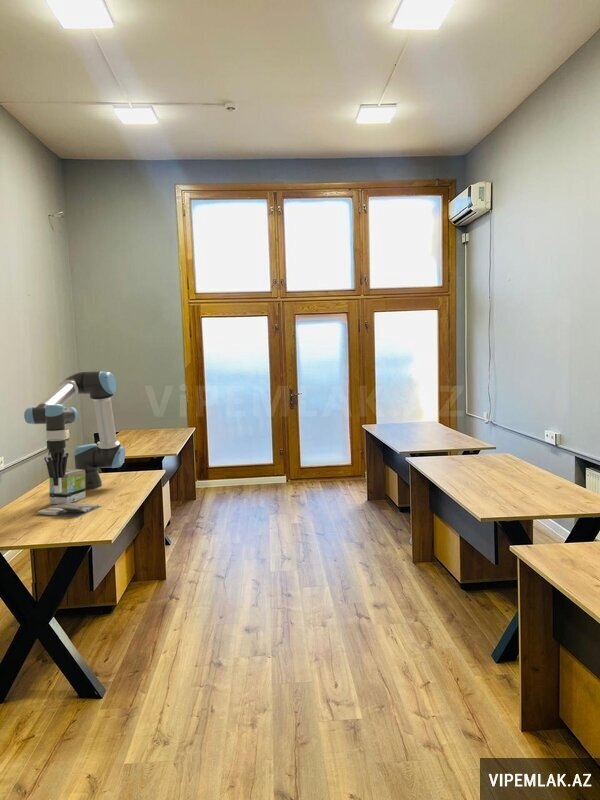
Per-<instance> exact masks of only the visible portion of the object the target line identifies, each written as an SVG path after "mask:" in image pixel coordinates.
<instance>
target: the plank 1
mask: <svg viewBox="0 0 600 800" xmlns="http://www.w3.org/2000/svg"><path fill="white" fill-rule="evenodd" d="M63 512H66V510H64V509H61V508H51V506H49V507H47V508H43V509H40V510H37V513H36V514H48V515H57V514H60V513H63Z"/></svg>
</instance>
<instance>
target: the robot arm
mask: <svg viewBox="0 0 600 800" xmlns="http://www.w3.org/2000/svg"><path fill="white" fill-rule="evenodd" d="M116 391H117V380H116V378H115V376H114V374H113V373H112V372H110V371H102V370H100V371H97V370H96V371H80V372H76V373H74V374H72V375H70V376H68V377H66V378H65V379H64V380H63V381H62V382H60V384H59V387H57V388H56V389H55V390H54V391H53V392H52V393H50V394H49V395H48V396H47V397H45V399H43V401H42V402H41V403H39V404H38V405H37V406H36V407H34V406H33V407H28V408H26V409H25V411H24V414H23V418H24V421H25V422H26V423H27V424H28V425H29V424H30V425H31V424H32V425H45V431H46V432H45V433H46V449H47V450H48V455H47V456H45V457H44V459H43V460H44V461H45V463H46V467H47V472H48V477H49V479H50V478H53V482H54V493H61V492H62V477H64V476H63V475H65V473H66V470H67V464H68V458H69V453H68V452H65V448H66V447H67V446H66V425H68V424H72V423H74V422H76V421H77V420H78V418H79V412H78V410H77V409H76V408H75V407H73V406H64V405H65V403H68V401H69V400H70V399H71V398H74V397H76V396H78V395H82V394H83V395H84V394H85V395H89V398H90V399H91V400H92V401H93V404H94V412H95V417H96V425H97V431H98V437H99V442H98V444H97V443H90V444H88V443H87V444H83V445H79V446H76V447H75V449H74V455H73V456H74V469H79V470H85V490H92V489H96V488H100V487H102V486H103V481H102V479H101V476H100V473H99V468H101V469H102V468H103V469H105V468H107V469H108V468H111V469H114V468H120V467H122V466H123V464H124V462H125V459H126V448H125V447H124V446H122V445H121V442H120V440H118V439H117V433H116V432H117V431H116V427H115V419H114V417H115V416H114V412H113V404H112V398H113V397H114V394H116Z"/></svg>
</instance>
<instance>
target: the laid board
mask: <svg viewBox="0 0 600 800" xmlns="http://www.w3.org/2000/svg"><path fill="white" fill-rule="evenodd" d="M58 505H77V506H79V507H82V508H84V509H87V511H86V512H89V511H91V510H93V509H95V508H98V506H99V504H95V503H94V504H93V503H74V502H71V503H59V504H53V505H52V506H50V507H51V508H58V507H57V506H58ZM98 509H99V508H98ZM93 511H94V510H93ZM91 512H92V511H91ZM89 513H90V512H89Z"/></svg>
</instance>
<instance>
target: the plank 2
mask: <svg viewBox="0 0 600 800" xmlns="http://www.w3.org/2000/svg"><path fill="white" fill-rule="evenodd" d="M57 507H58V508H61V509H64V510H66V511H75V512H86V511H87V509H84V508H82V507H79V506H77V505H58V506H57Z"/></svg>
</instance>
